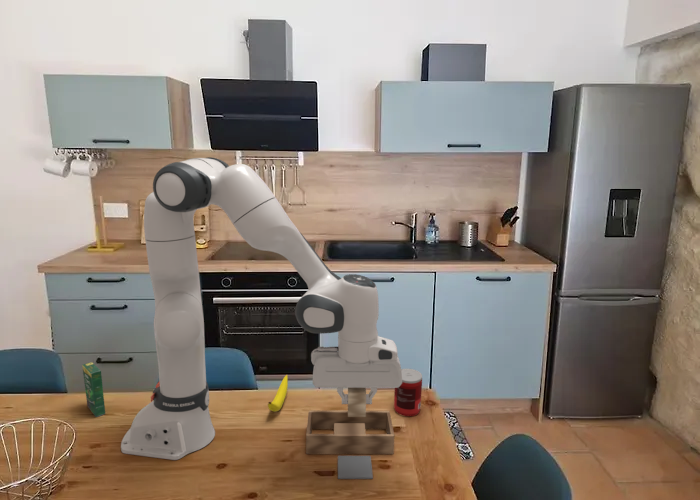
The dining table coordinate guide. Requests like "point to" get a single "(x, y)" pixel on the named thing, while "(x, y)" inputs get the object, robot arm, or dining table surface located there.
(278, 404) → the banana
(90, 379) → the coffee box
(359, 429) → the crate
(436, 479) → the dining table surface
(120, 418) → the dining table surface
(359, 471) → the mat
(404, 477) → the dining table surface
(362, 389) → the block
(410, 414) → the canned food
